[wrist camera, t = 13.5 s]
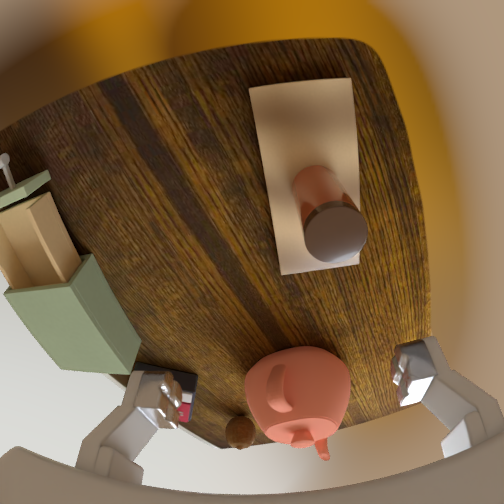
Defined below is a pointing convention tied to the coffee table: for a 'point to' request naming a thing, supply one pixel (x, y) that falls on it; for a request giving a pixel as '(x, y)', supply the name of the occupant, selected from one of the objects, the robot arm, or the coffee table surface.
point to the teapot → (299, 396)
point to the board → (304, 153)
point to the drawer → (33, 236)
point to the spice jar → (327, 216)
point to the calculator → (187, 386)
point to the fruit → (240, 432)
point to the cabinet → (79, 322)
